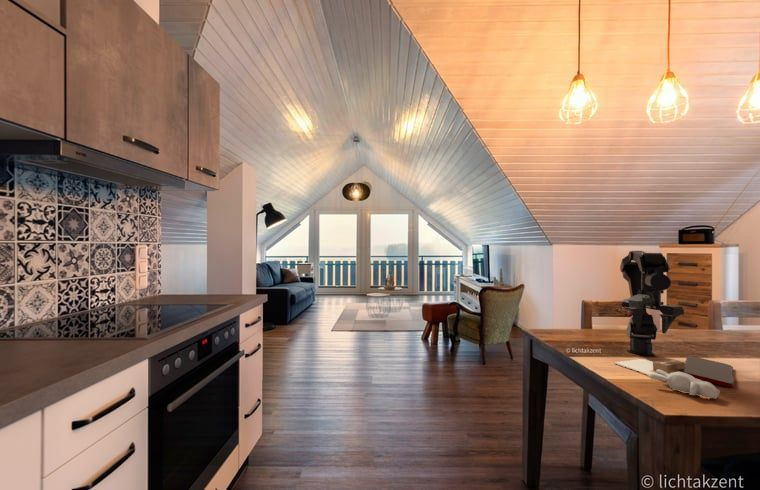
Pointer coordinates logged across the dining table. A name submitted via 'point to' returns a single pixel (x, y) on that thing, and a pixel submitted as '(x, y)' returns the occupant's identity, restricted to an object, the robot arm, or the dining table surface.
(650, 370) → the mat
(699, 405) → the dining table surface
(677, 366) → the slotted tan box
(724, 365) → the grey and red slab
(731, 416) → the dining table surface
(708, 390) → the bunny figurine
